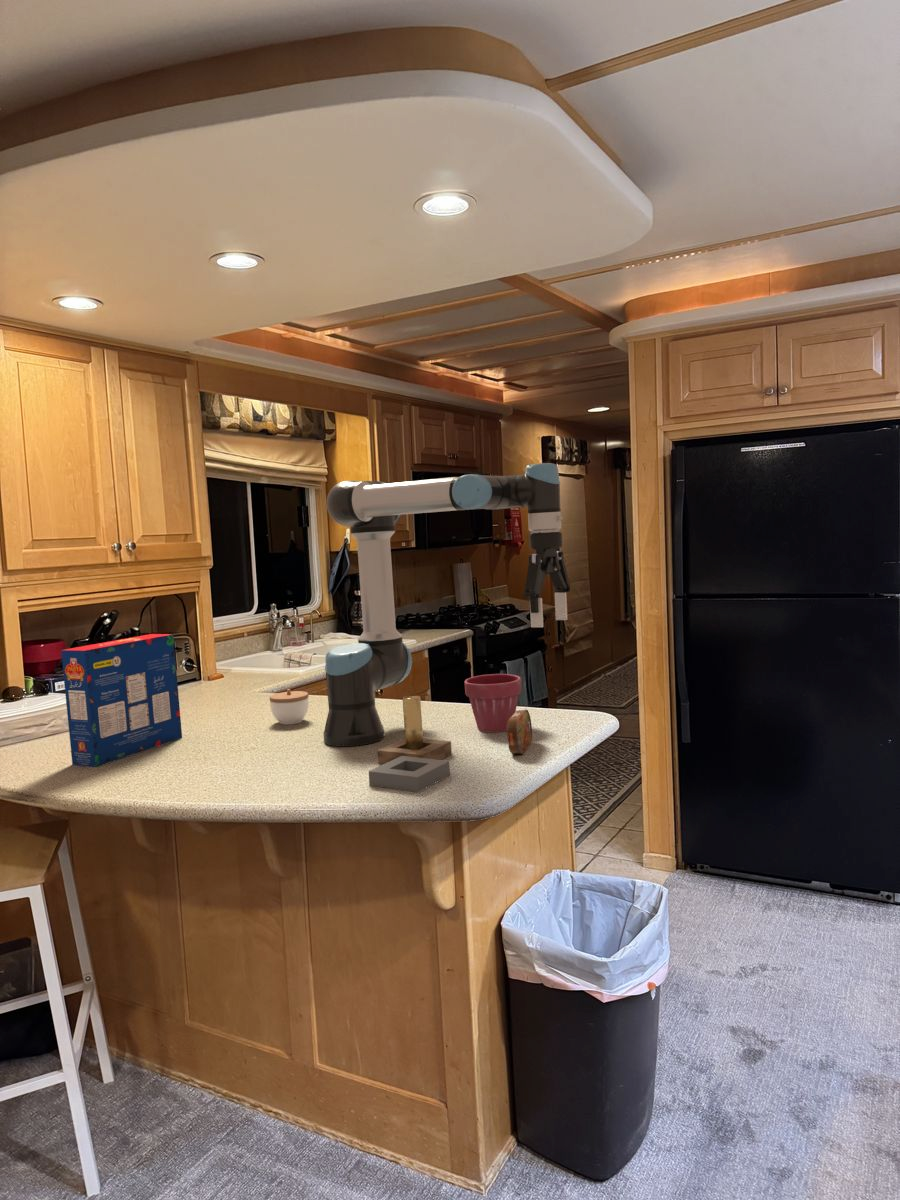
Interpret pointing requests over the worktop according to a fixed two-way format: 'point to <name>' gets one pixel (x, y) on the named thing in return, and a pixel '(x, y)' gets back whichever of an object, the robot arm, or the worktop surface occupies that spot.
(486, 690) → the plant pot
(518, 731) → the tin
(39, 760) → the worktop surface
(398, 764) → the plate
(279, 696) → the lidded jar
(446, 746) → the brown wooden square frame
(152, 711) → the pasta box
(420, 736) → the lock pin
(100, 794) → the worktop surface
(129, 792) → the worktop surface
